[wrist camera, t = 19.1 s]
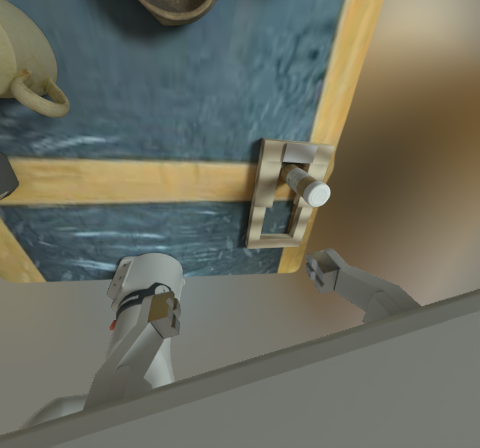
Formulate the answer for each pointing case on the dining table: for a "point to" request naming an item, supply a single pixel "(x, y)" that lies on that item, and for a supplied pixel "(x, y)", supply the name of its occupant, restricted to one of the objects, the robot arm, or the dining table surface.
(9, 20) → the sugar bowl
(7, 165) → the liquor
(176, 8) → the bowl
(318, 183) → the sprinkles bottle
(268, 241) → the keyhole board
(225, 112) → the dining table surface
